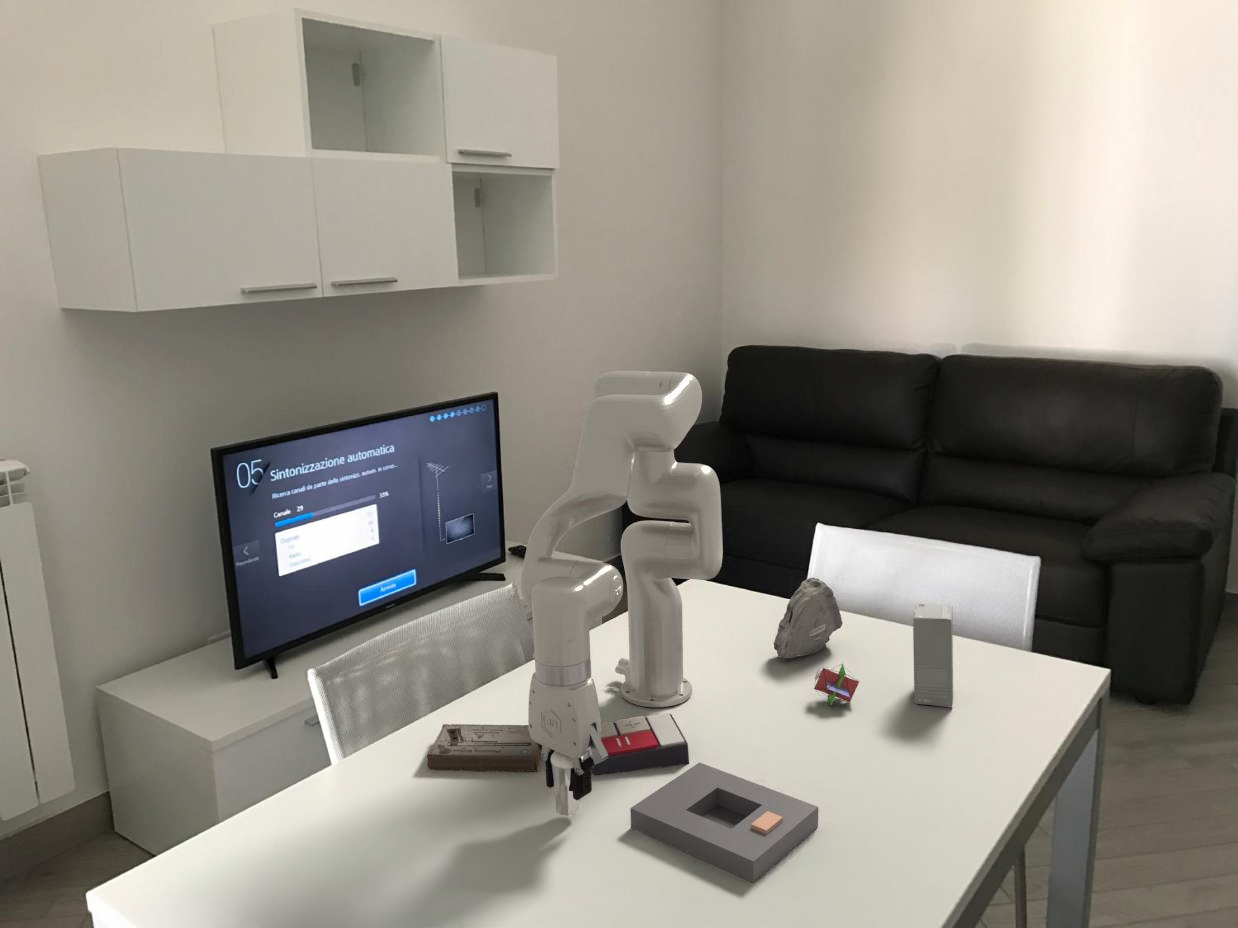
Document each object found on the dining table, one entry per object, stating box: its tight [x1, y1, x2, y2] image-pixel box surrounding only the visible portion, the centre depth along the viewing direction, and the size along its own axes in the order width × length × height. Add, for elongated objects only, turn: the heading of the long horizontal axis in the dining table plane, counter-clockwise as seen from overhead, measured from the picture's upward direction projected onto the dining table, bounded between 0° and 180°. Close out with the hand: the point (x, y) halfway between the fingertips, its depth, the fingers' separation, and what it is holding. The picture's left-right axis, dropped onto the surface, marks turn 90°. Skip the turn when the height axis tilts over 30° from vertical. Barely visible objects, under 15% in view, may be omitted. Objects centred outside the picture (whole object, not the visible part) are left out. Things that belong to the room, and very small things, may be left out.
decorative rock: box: [773, 577, 843, 659], centre depth 198 cm, size 16×7×15 cm, turn 124°
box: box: [426, 723, 542, 773], centre depth 163 cm, size 11×17×3 cm, turn 85°
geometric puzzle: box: [813, 663, 860, 708], centre depth 177 cm, size 7×7×8 cm
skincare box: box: [912, 603, 954, 708], centre depth 177 cm, size 8×7×16 cm
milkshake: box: [551, 751, 585, 816], centre depth 143 cm, size 5×5×10 cm
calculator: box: [591, 712, 690, 777], centre depth 162 cm, size 11×4×15 cm
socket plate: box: [629, 762, 819, 883], centre depth 141 cm, size 20×16×4 cm
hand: (569, 788), depth 143 cm, fingers closed on milkshake, 4 cm apart
